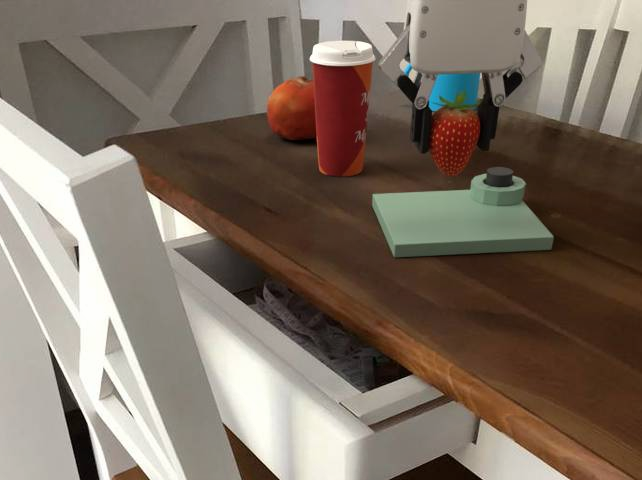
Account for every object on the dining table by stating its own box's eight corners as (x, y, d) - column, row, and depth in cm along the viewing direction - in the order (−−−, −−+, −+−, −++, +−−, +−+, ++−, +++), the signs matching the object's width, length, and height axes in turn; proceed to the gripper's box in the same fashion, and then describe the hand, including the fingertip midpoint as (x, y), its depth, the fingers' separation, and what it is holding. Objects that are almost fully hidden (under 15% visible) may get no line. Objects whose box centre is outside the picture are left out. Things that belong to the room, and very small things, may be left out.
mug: (472, 99, 119) (479, 42, 114) (480, 112, 113) (487, 53, 108) (398, 99, 120) (401, 43, 115) (402, 113, 113) (405, 54, 108)
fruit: (479, 184, 71) (492, 95, 66) (426, 185, 71) (434, 96, 66) (468, 166, 75) (478, 81, 70) (417, 167, 75) (425, 82, 70)
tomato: (254, 138, 104) (251, 77, 99) (299, 124, 109) (298, 65, 104) (301, 152, 99) (300, 87, 94) (346, 137, 104) (347, 75, 99)
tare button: (506, 180, 82) (508, 166, 81) (514, 189, 80) (516, 174, 79) (482, 181, 82) (484, 167, 81) (489, 190, 80) (491, 175, 79)
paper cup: (379, 175, 91) (386, 49, 83) (321, 182, 90) (320, 54, 81) (358, 156, 97) (362, 37, 88) (303, 162, 96) (301, 41, 87)
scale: (511, 198, 85) (516, 172, 83) (554, 249, 74) (561, 220, 72) (371, 204, 84) (372, 178, 82) (393, 257, 73) (395, 228, 71)
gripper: (561, -87, 63) (524, 133, 75) (365, -83, 62) (358, 140, 74) (595, -81, 58) (550, 157, 69) (380, -77, 57) (370, 164, 68)
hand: (451, 146), depth 71 cm, fingers closed on fruit, 5 cm apart
